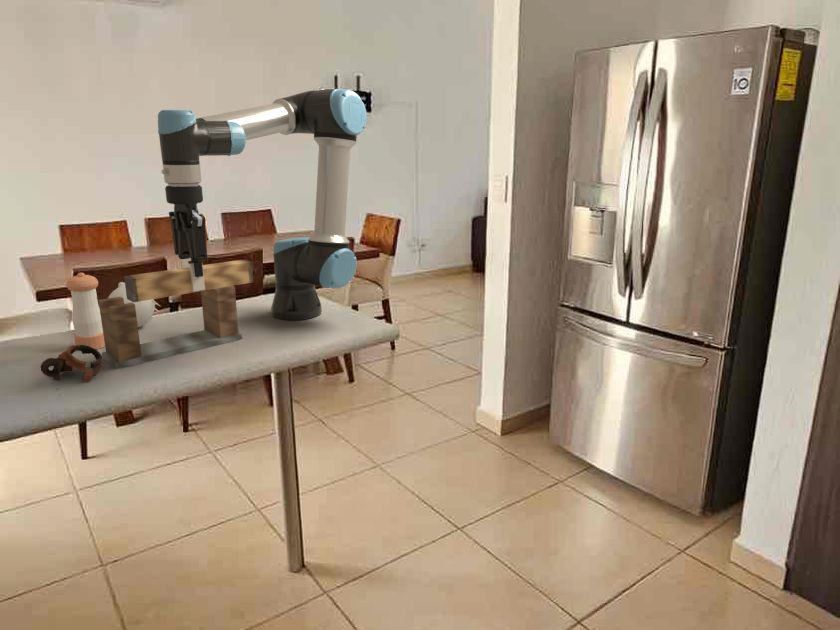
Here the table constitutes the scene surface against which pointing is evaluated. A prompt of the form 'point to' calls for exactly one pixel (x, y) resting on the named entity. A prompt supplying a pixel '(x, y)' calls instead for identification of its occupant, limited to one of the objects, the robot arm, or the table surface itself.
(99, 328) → the pepper shaker
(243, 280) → the bed rail
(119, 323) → the wooden u-shaped stand
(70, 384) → the table surface
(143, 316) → the cat head
